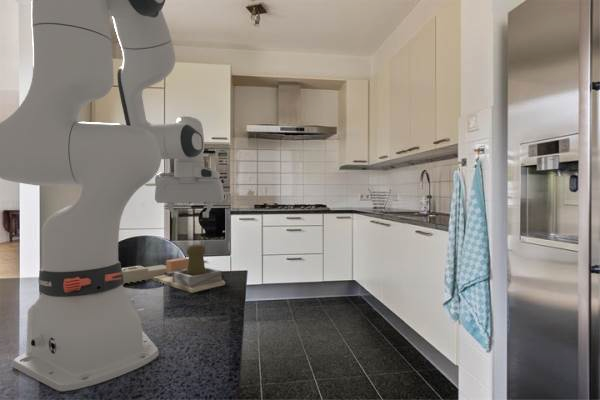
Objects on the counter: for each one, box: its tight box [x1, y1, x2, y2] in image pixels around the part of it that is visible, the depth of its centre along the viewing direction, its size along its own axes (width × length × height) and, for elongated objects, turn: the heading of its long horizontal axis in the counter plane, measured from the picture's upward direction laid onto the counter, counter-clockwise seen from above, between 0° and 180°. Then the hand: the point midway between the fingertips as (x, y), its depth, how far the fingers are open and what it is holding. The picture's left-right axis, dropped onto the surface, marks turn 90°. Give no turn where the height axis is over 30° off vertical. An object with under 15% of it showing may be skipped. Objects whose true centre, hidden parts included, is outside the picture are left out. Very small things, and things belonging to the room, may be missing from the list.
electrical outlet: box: [121, 264, 168, 285], centre depth 108 cm, size 7×4×18 cm
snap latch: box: [165, 257, 188, 271], centre depth 107 cm, size 3×6×3 cm, turn 140°
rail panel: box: [152, 267, 226, 294], centre depth 103 cm, size 22×11×4 cm, turn 50°
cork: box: [186, 243, 206, 276], centre depth 100 cm, size 6×6×11 cm
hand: (190, 217), depth 103 cm, fingers open, 8 cm apart
